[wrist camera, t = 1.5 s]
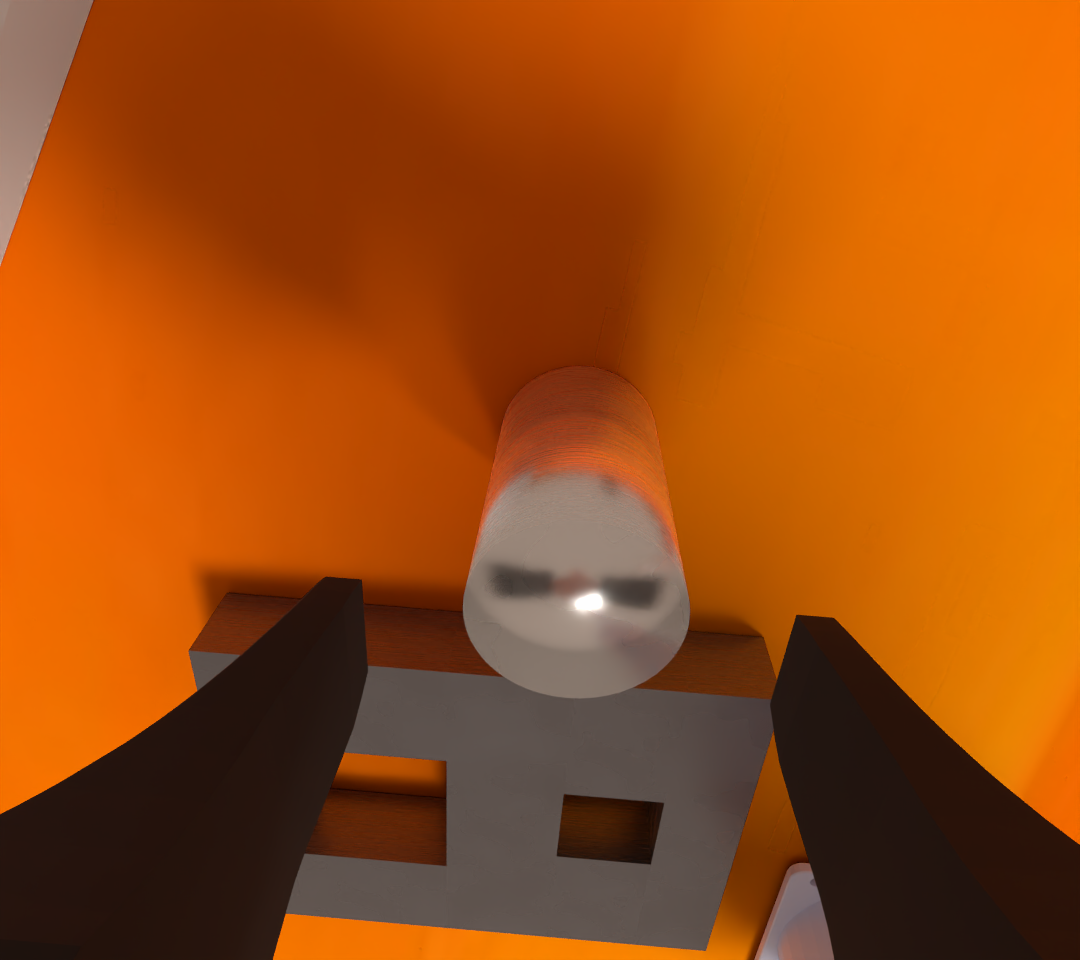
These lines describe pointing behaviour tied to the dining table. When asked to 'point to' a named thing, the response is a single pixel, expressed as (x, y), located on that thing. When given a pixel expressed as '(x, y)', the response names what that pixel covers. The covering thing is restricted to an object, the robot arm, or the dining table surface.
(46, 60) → the white black-striped wedge
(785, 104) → the dining table surface
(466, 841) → the fitting block
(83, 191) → the dining table surface
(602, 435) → the cylinder
